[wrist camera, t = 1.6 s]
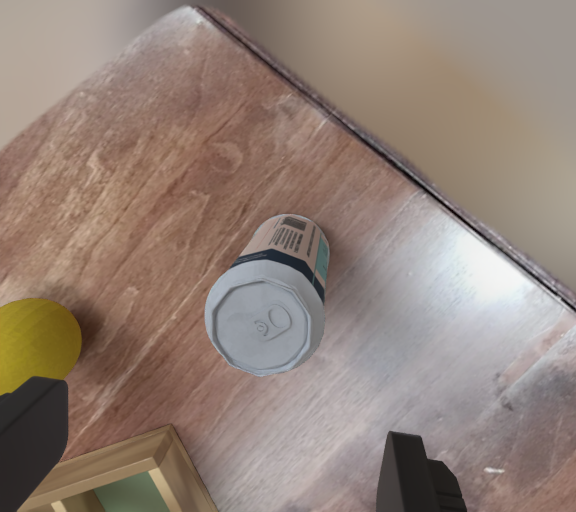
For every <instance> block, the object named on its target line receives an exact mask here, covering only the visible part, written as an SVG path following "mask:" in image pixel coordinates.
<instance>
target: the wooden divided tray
mask: <svg viewBox="0 0 576 512" xmlns="http://www.w3.org/2000/svg"><path fill="white" fill-rule="evenodd" d="M17 512H218V510H217V509H216V507H215V505H214V503H213V501H212V499H211V497H210V495H209V494H208V492H207V490H206V488H205V486H204V484H203V482H202V480H201V479H200V477H199V475H198V473H197V471H196V469H195V467H194V465H193V464H192V462H191V460H190V458H189V456H188V454H187V452H186V450H185V449H184V447H183V445H182V443H181V441H180V439H179V437H178V435H177V434H176V432H175V430H174V428H173V426H172V424H170V425H167V426H164V427H161V428H158V429H155V430H152V431H150V432H147V433H144V434H141V435H138V436H135V437H132V438H130V439H127V440H124V441H121V442H118V443H115V444H112V445H110V446H107V447H104V448H101V449H98V450H95V451H92V452H90V453H87V454H84V455H81V456H78V457H75V458H72V459H70V460H67V461H64V462H61V463H58V464H56V465H55V466H54V468H53V469H52V470H51V471H50V472H49V474H48V475H47V476H46V477H45V478H44V480H43V481H42V482H41V483H40V484H39V485H38V487H37V488H36V489H35V490H34V491H33V493H32V494H31V495H30V496H29V497H28V499H27V500H26V501H25V502H24V503H23V504H22V506H21V507H20V508H19V509H18V510H17Z"/></svg>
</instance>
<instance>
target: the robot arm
mask: <svg viewBox="0 0 576 512" xmlns="http://www.w3.org/2000/svg"><path fill="white" fill-rule="evenodd" d="M67 440H68V385H67V383H66V381H64V380H60V379H53V378H47V377H40V376H33V377H31V378H29V379H28V380H27V381H26V382H24V383H23V384H22V385H21V386H19V387H18V388H17V389H16V390H14V391H13V392H12V393H8V392H7V393H5V394H3V395H0V512H17V510H18V509H19V508H20V507H21V506H22V504H23V503H24V502H25V501H26V500H27V499H28V497H29V496H30V495H31V494H32V493H33V491H34V490H35V489H36V488H37V487H38V485H39V484H40V483H41V482H42V481H43V480H44V478H45V477H46V476H47V475H48V474H49V472H50V471H51V470H52V469H53V468H54V466H55V465H56V464H57V463H58V462H59V460H60V459H61V457H62V455H63V453H64V451H65V448H66V445H67ZM376 512H467V508H466V505H465V502H464V499H462V493H461V490H460V487H459V484H458V481H457V478H456V477H455V476H454V474H453V473H452V472H451V471H450V470H449V469H448V467H447V466H446V465H445V464H444V463H443V462H442V461H437V460H431V459H427V456H426V452H425V449H424V445H423V441H422V438H421V436H419V435H412V434H406V433H399V432H393V431H389V432H388V435H387V439H386V444H385V450H384V455H383V461H382V466H381V471H380V477H379V482H378V489H377V499H376Z"/></svg>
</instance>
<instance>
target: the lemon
mask: <svg viewBox="0 0 576 512" xmlns="http://www.w3.org/2000/svg"><path fill="white" fill-rule="evenodd" d="M81 344H82V336H81V329H80V327H79V324H78V322H77V320H76V319H75V317H74V316H73V315H72V313H71V312H70V311H69V310H67V309H66V308H65V307H64V306H62V305H60V304H58V303H57V302H54V301H50V300H47V299H40V298H27V299H22V300H18V301H14V302H11V303H8V304H6V305H4V306H2V307H0V395H3V394H5V393H7V392H8V393H12V392H13V391H14V390H16V389H17V388H18V387H19V386H21V385H22V384H23V383H24V382H26V381H27V380H28V379H29V378H31V377H33V376H40V377H47V378H53V379H60V380H63V379H64V378H65V377H66V376H67V375H68V373H69V372H70V371H71V370H72V368H73V367H74V365H75V364H76V361H77V359H78V357H79V354H80V351H81Z"/></svg>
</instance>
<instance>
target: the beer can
mask: <svg viewBox="0 0 576 512" xmlns="http://www.w3.org/2000/svg"><path fill="white" fill-rule="evenodd" d="M329 256H330V250H329V244H328V241H327V239H326V237H325V235H324V233H323V232H322V230H321V229H320V228H319V227H318V225H316V224H315V223H314V222H313V221H311V220H309V219H308V218H306V217H303V216H299V215H296V214H282V215H278V216H275V217H272V218H270V219H268V220H266V221H265V222H264V223H263V224H261V225H260V227H259V228H258V229H257V230H256V232H255V234H254V235H253V237H252V239H251V241H250V242H249V243H248V245H247V246H246V247H245V249H244V250H243V251H242V252H241V254H240V255H239V256H238V258H237V259H236V260H235V262H234V263H233V264H232V266H231V267H230V268H229V270H228V271H227V272H225V273H224V274H223V275H222V276H221V277H220V278H219V279H218V280H217V281H216V283H215V284H214V285H213V287H212V288H211V290H210V292H209V295H208V297H207V301H206V305H205V325H206V329H207V333H208V336H209V338H210V340H211V342H212V344H213V345H214V347H215V349H216V350H217V351H218V352H219V353H220V354H221V355H222V356H223V357H224V359H225V360H226V361H227V363H228V364H229V366H232V367H234V368H237V369H240V370H242V371H245V372H248V373H250V374H253V375H256V376H258V377H261V376H266V375H271V374H279V373H285V372H287V371H289V370H292V369H294V368H297V367H298V366H300V365H301V364H302V363H304V362H305V361H306V360H308V359H309V358H310V357H311V356H312V354H313V353H314V352H315V351H316V349H317V348H318V346H319V344H320V341H321V339H322V336H323V334H324V326H325V313H324V302H325V289H326V277H327V267H328V264H329Z"/></svg>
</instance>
